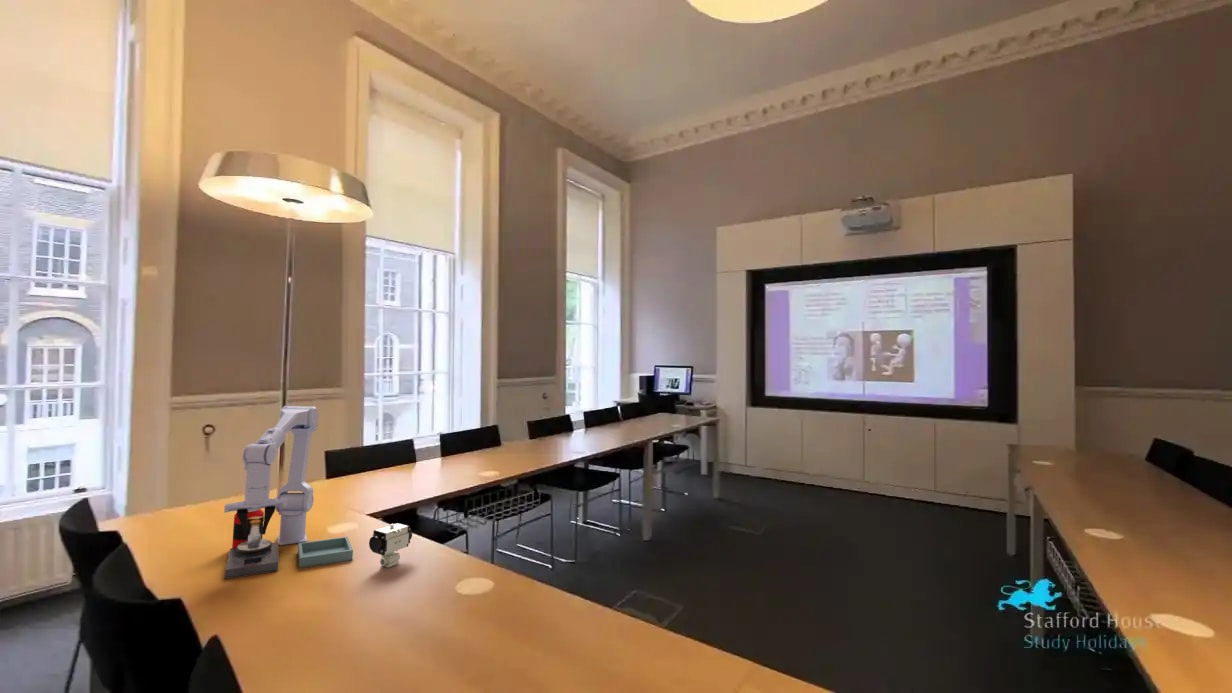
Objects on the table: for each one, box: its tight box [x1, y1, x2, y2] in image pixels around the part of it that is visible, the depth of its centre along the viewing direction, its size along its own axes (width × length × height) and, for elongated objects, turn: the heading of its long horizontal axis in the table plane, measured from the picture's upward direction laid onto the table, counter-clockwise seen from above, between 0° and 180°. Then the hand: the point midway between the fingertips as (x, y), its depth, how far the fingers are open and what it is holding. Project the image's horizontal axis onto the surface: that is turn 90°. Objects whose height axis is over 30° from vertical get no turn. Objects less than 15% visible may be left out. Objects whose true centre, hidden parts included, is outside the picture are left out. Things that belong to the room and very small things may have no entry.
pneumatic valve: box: [368, 522, 413, 569], centre depth 153 cm, size 6×12×12 cm, turn 152°
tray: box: [297, 536, 354, 569], centre depth 157 cm, size 14×14×3 cm
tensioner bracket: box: [224, 538, 279, 580], centre depth 150 cm, size 18×12×6 cm, turn 33°
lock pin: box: [247, 516, 264, 549], centre depth 146 cm, size 4×4×8 cm
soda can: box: [231, 508, 265, 548], centre depth 161 cm, size 8×8×12 cm
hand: (254, 534), depth 146 cm, fingers closed on lock pin, 4 cm apart
